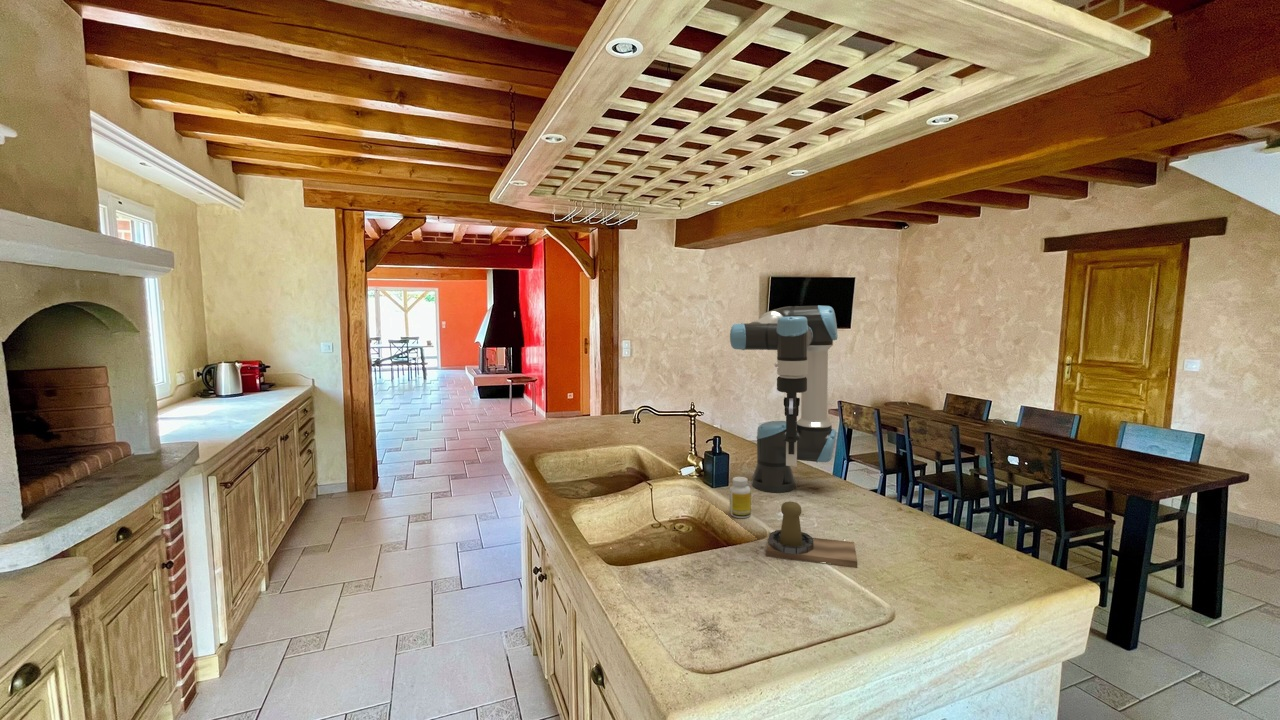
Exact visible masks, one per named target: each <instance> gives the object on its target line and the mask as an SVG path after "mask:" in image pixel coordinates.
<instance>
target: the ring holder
mask: <svg viewBox="0 0 1280 720" xmlns="http://www.w3.org/2000/svg"><path fill="white" fill-rule="evenodd" d="M769 533H770V534H768V538H769V545H770V546H771V547H772V548H773V549H775V550H778V551H780V552H783V553H789V554H803V553H808V552H810V551H811V550H813V547H814V539H813V538H814V537H813V536H811V535H810V534H808V533H807V532H806V533H805V532H803V531H801V535H802V542H803V545H802V546H787V545H783V544H780V543H779V541H780V534H781V529H776V530H774V531H772V532H769Z"/></svg>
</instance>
